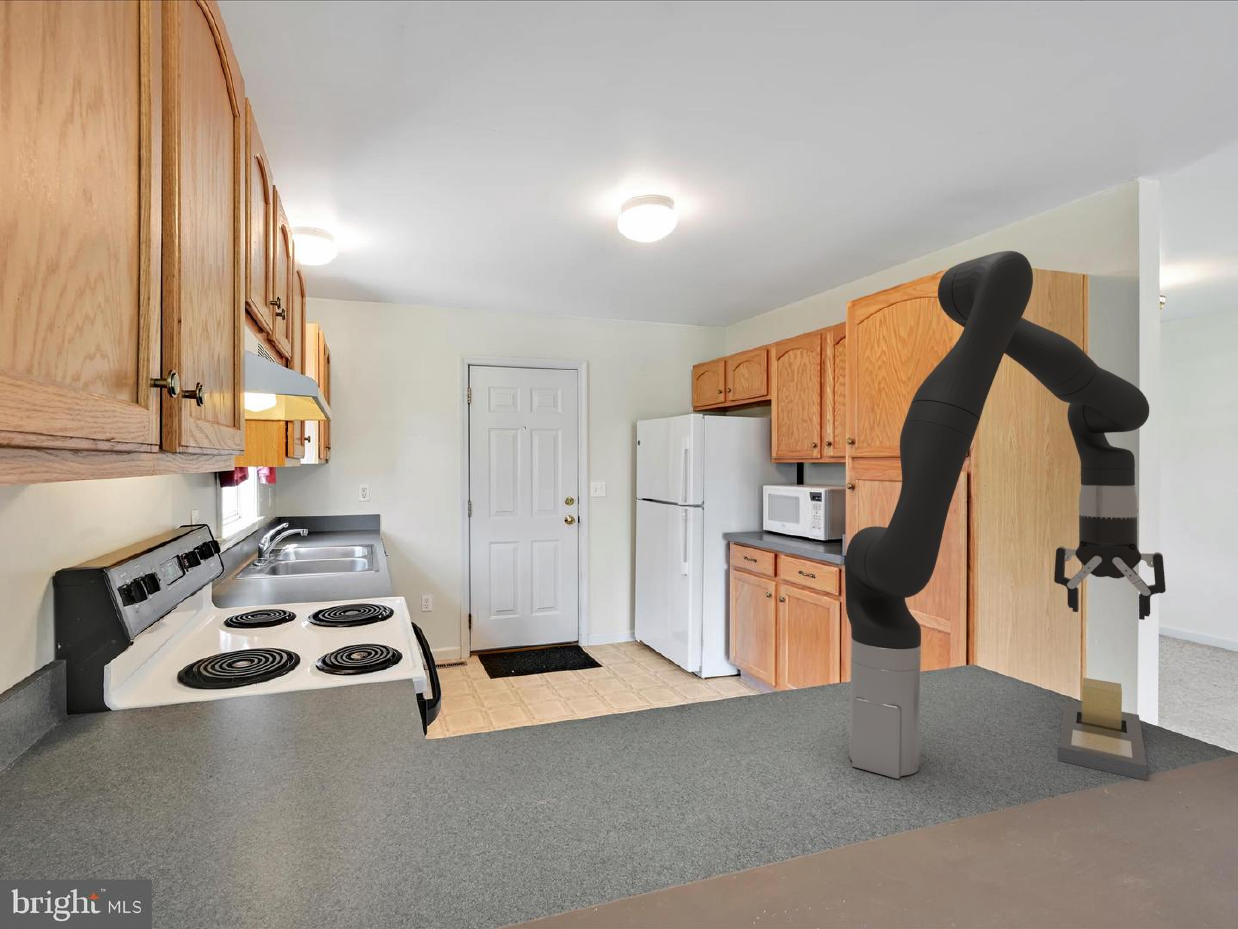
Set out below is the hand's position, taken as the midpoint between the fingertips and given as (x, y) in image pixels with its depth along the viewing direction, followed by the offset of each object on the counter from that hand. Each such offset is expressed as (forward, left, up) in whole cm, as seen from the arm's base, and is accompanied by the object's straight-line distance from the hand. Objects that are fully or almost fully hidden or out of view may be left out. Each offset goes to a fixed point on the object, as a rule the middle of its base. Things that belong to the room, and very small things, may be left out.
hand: (1108, 615), depth 106 cm
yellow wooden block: (-1, +1, -19) cm, 19 cm away
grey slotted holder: (-5, +1, -19) cm, 20 cm away
